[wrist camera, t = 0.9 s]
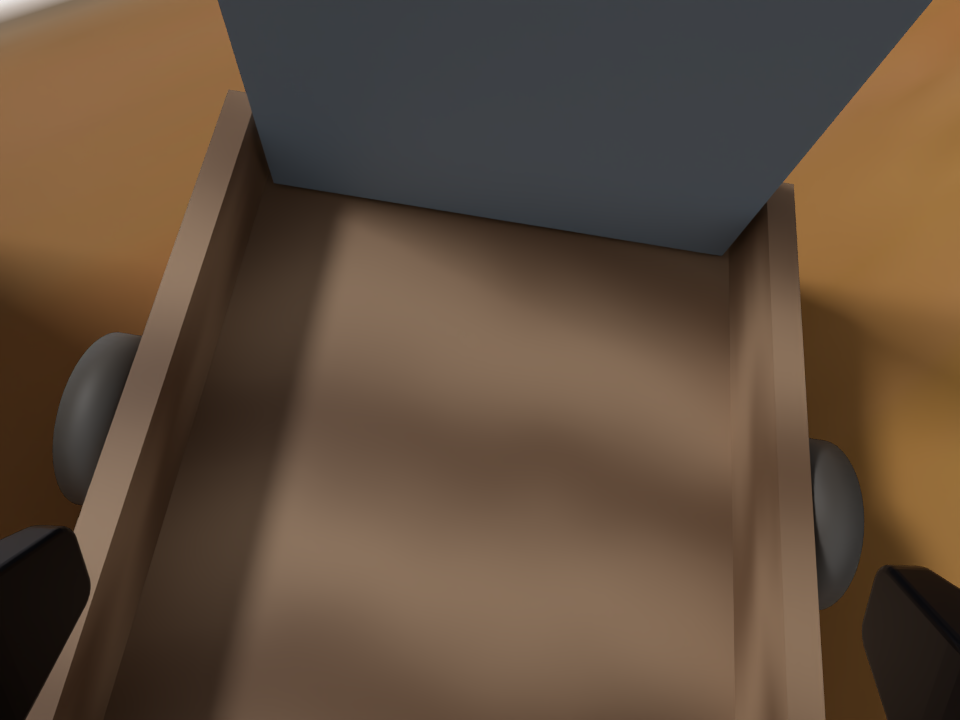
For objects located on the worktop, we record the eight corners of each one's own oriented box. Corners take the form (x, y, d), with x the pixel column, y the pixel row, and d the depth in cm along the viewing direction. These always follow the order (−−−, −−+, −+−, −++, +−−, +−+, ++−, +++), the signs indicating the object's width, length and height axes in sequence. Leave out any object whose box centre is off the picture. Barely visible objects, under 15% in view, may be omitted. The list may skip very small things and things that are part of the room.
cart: (785, 906, 17) (910, 997, 12) (15, 809, 16) (-126, 871, 12) (762, 269, 24) (838, 191, 19) (223, 182, 23) (180, 81, 19)
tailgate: (722, 259, 21) (977, -49, 11) (273, 185, 20) (153, -201, 11) (721, 220, 21) (965, -104, 12) (283, 148, 21) (179, -251, 11)
